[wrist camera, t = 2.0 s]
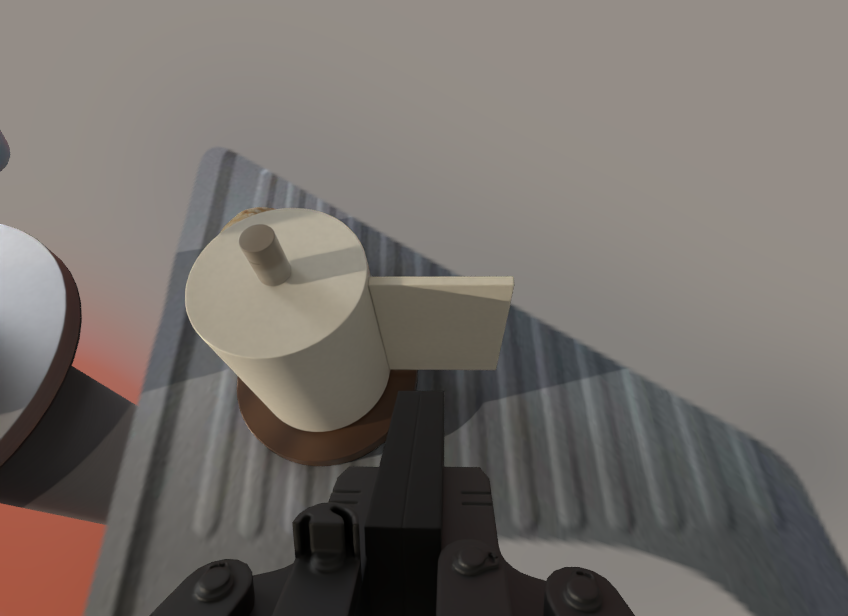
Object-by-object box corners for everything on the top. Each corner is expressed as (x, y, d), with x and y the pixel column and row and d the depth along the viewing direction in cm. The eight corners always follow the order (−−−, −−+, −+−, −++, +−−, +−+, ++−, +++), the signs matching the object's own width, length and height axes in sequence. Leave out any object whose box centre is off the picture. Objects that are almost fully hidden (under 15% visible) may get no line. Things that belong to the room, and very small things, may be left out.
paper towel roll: (237, 408, 36) (146, 328, 25) (297, 299, 40) (242, 192, 30) (464, 485, 32) (472, 430, 21) (499, 356, 37) (521, 258, 26)
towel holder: (209, 432, 36) (44, 319, 21) (292, 286, 43) (209, 122, 28) (380, 492, 34) (326, 411, 19) (440, 326, 40) (435, 168, 25)
